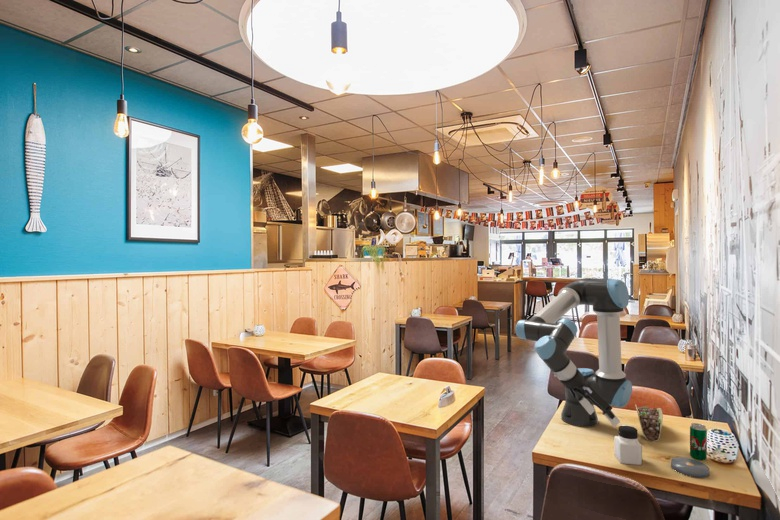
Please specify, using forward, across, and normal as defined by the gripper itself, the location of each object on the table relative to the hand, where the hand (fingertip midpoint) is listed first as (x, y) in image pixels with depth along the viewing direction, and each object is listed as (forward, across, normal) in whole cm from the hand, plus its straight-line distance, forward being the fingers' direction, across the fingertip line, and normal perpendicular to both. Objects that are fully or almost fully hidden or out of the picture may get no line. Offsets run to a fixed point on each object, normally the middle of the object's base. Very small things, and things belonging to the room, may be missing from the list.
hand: (604, 417), depth 157 cm
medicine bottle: (+18, 0, -3) cm, 18 cm away
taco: (+36, -24, +19) cm, 47 cm away
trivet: (+28, +10, +8) cm, 31 cm away
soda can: (+35, +2, +17) cm, 39 cm away
